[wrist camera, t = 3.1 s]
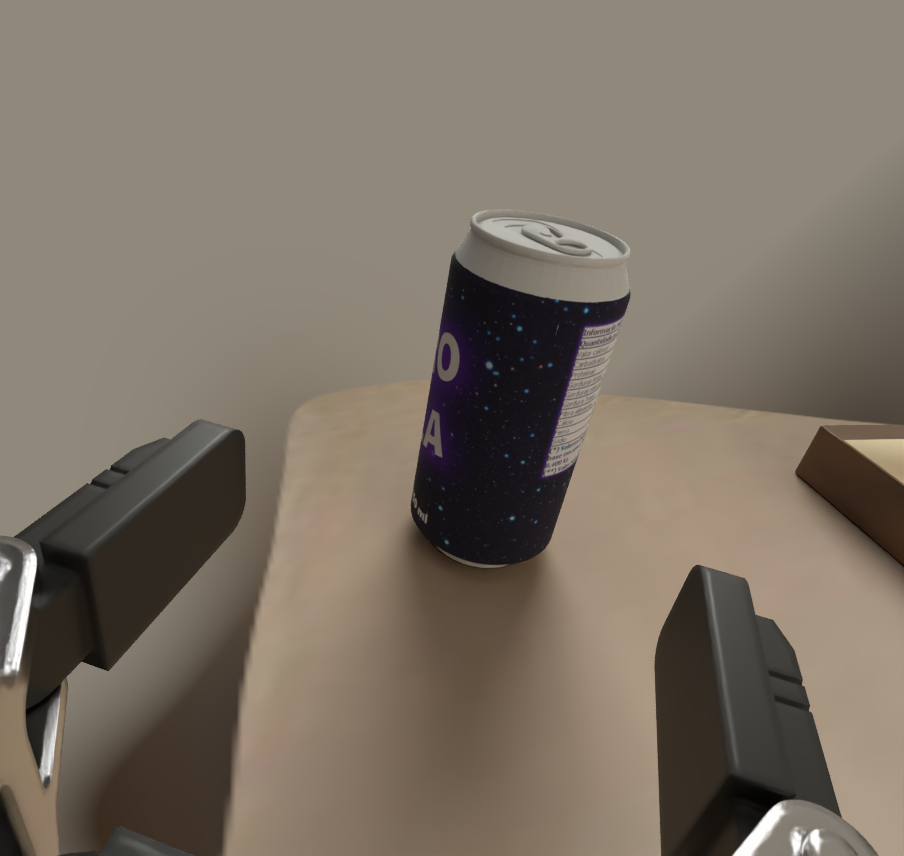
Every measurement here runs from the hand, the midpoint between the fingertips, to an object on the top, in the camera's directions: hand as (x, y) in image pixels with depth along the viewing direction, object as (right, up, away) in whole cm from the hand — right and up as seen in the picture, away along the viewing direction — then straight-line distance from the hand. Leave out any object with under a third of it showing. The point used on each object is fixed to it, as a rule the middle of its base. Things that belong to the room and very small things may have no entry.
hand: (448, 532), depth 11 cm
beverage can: (+1, -2, +14) cm, 15 cm away
